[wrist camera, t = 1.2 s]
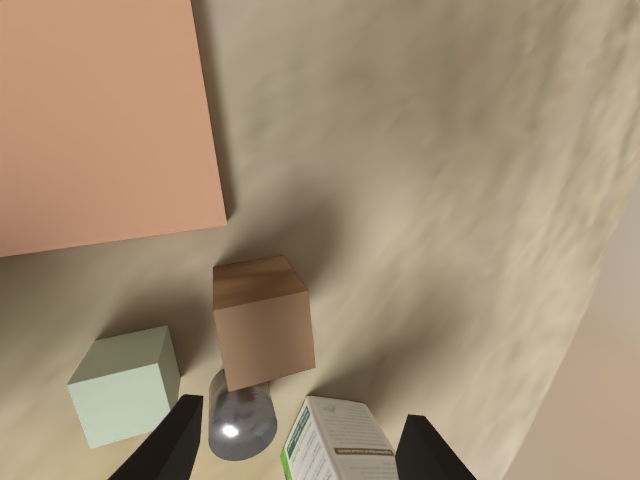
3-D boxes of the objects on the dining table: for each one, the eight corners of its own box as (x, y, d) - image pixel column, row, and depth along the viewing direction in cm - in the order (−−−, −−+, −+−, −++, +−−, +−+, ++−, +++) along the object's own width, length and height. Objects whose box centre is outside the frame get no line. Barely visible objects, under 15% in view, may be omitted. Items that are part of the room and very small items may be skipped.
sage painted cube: (112, 394, 20) (90, 449, 16) (95, 339, 19) (66, 385, 15) (180, 377, 21) (173, 424, 17) (168, 324, 20) (157, 363, 16)
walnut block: (224, 329, 21) (228, 392, 16) (212, 267, 20) (213, 310, 14) (290, 314, 22) (315, 367, 17) (283, 254, 21) (308, 290, 16)
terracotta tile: (-44, 258, 16) (-60, 265, 15) (-182, -64, 12) (-215, -82, 11) (226, 221, 19) (227, 225, 18) (184, -35, 16) (182, -47, 15)
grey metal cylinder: (214, 418, 23) (214, 470, 19) (204, 371, 21) (202, 416, 18) (270, 401, 24) (280, 447, 20) (263, 356, 23) (273, 395, 19)
